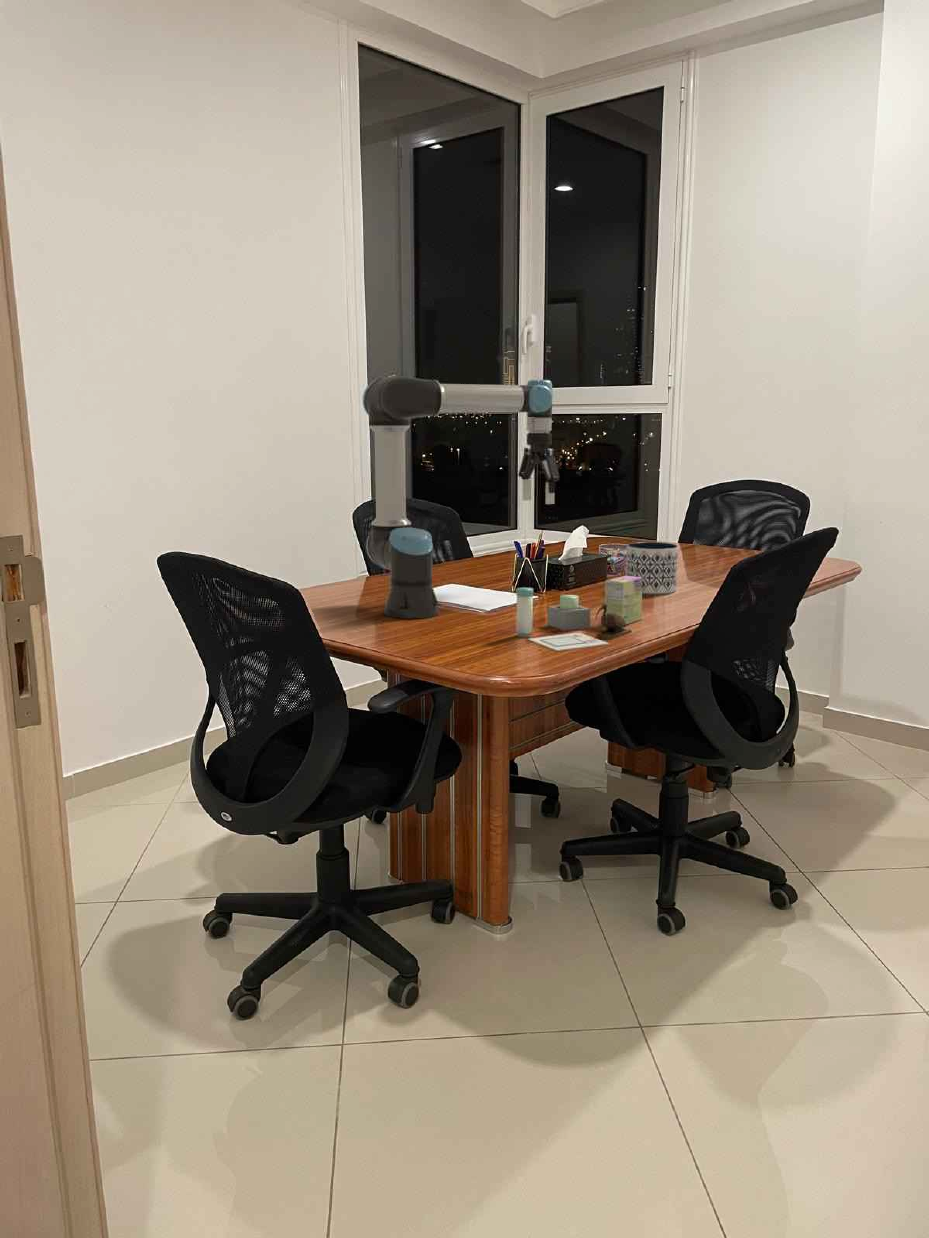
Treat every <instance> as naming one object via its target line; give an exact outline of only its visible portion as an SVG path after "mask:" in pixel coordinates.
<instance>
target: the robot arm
mask: <svg viewBox="0 0 929 1238" xmlns="http://www.w3.org/2000/svg"><path fill="white" fill-rule="evenodd" d="M553 395H554V394H553V384H552V381H551V380H549V379H531V380H528V381H527V385H526V384H524V385H523V384H522V385H519V384H472V383H471V384H470V383H469V384H466V383H464V384H463V383H462V384H461V383H440V382H439V381H438V380H437V379H423V378H417V377H416V378H415V377H409V376H403V375H400V376H383V377H379V378H376V379H375V380H373V381H371V382H370V383H369V384H368V385H367V386H366V388H365V390H364V392H363V394H362V405H363V408H364V411H365V413H366V414H367V415H368V427H369V428H370V430H372V432H373V433H374V466H375V467H374V468H375V469H374V473H375V474H374V475H375V477H374V481H375V516H376V517H375V518H374V519H373V520H372V521H371V523H370V528H371V529H370V534H369V535H368V536H367V539H366V543H365V549H366V554H367V556H368V557H369V559H370V561H372V563H374V564H375V565H377V566H378V567H379V568H381V569H384V570H389V571H390V588H389V591H388V593H387V598H386V601H385V605H384V614H385V616H387V617H391V618H394V619H395V618H396V619H424V618H432V617H434V616H437V615H438V614H440V611H439V609H440V607H439V603H438V599H437V596H436V593H435V589H434V587H433V548H434V545H433V539H432V538H433V537H432V535H431V533H430V532H429V531H427V530H426V529H422V528H416V527H412V522H411V520H409V519H408V518H407V506H406V505H407V501H406V499H407V496H406V495H407V493H406V490H407V489H406V432H407V431H408V430H409V428H410V427H411V419H416V418H423V417H424V418H425V417H437V416H438V415H439V414H440V413H503V414H504V413H526V417H527V418H526V432H527V434H526V445H527V446H529V447H524V449H523V456H522V460H521V463H520V467H519V471H518V477H519V478H520V479H521V480H522V501H523V502H524V501H532V474H533V472H534V471H535V468H536V466H537V465H538V464H539V466H541V469H542V471H543V473H544V476H545V478H546V480H545V502H544V503H545V505H553V504H554V505H555V495H556V494H555V493H556V483H557V481H560V478H561V477H560V473H559V469H558V466H557V465H558V464H557V460H556V456H555V449H554V448H549V446H551V445H552V436H553V435H552V433H550V432H551V431H552V424H553V422H552V420H553V419H552V418H553V416H552V415H553V397H554V396H553Z"/></svg>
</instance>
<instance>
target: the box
mask: <svg viewBox="0 0 929 1238" xmlns="http://www.w3.org/2000/svg"><path fill="white" fill-rule="evenodd" d="M604 583H605V584H604V585H605V587H604V604H606V605H607V610H606V614H607V613H614V614H617V615H619V616H621V617H622V618H623V619H624V620H625V622H626V625H629V624H631V623H634V622H638V621H641V620H642V610H643V609H642V608H643V607H642V605H643V604H642V601H643V594H642V577H634V576H626V575H624V576H619V577H615V578H611V579H606V580H604Z"/></svg>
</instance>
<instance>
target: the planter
mask: <svg viewBox="0 0 929 1238" xmlns="http://www.w3.org/2000/svg"><path fill="white" fill-rule="evenodd" d="M625 551H626V553H625V554H626V555H625V556H626V558H625V576H634V577H642V595H667V594H672V593H674V592H675V591H676V590H677V579H678V578H677V577H678V575H677V574H678V560H679V559H678V556H679V554H678V553H679V546H678V544H675V543H668V542H656V541H655V542H654V541H641V542H638V541H637V542H631V543H627V544H626V550H625Z"/></svg>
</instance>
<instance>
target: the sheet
mask: <svg viewBox="0 0 929 1238" xmlns="http://www.w3.org/2000/svg"><path fill="white" fill-rule="evenodd" d="M528 641H530V642H532V643H535V644H538V645H540V646H542V647H545V648H548V649H550V650H552V651H555V652H562V651H563V652H564V651H569V650H578V649H584V648H585V649H586V648H591V647H599V646H607V645H610V643H609V642H608V641H607V642H606V641H605V640H600V639H599V638H595V637H593V636H590V635H588V634H584V633H582V632H574V633H573V632H572V633H564V634H557V635H556V634H555V635H550V636H549V635H548V636H547V635H546V636H541V637H540V636H539V637H532V638H528Z"/></svg>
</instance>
